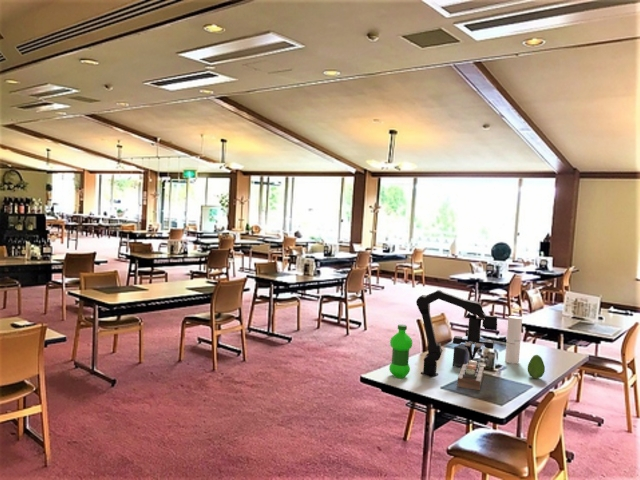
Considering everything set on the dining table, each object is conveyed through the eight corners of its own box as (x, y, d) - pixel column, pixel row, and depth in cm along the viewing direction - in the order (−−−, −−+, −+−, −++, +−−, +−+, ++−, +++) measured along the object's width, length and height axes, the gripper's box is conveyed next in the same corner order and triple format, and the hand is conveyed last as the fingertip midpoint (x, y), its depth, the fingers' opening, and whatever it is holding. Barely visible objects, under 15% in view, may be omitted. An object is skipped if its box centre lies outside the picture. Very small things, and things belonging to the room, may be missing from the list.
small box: (463, 369, 270) (465, 349, 270) (452, 366, 274) (453, 346, 274) (471, 365, 279) (472, 345, 278) (459, 362, 283) (461, 343, 282)
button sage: (474, 375, 242) (474, 372, 242) (465, 374, 243) (465, 370, 243) (474, 373, 245) (475, 369, 245) (466, 372, 247) (466, 368, 247)
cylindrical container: (520, 364, 286) (524, 319, 284) (507, 363, 286) (511, 318, 284) (516, 360, 293) (519, 316, 291) (503, 359, 293) (506, 315, 292)
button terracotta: (475, 371, 249) (475, 367, 249) (466, 369, 251) (467, 366, 250) (476, 369, 253) (476, 365, 253) (467, 367, 254) (467, 364, 254)
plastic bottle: (395, 371, 259) (398, 322, 258) (413, 376, 253) (417, 326, 251) (384, 375, 252) (387, 324, 250) (403, 381, 245) (406, 329, 244)
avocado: (533, 381, 256) (535, 357, 256) (523, 376, 264) (525, 352, 263) (547, 380, 258) (549, 356, 258) (537, 375, 266) (538, 352, 265)
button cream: (476, 366, 257) (477, 363, 256) (468, 365, 258) (468, 362, 258) (477, 364, 260) (477, 361, 260) (469, 363, 262) (469, 360, 262)
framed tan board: (479, 390, 238) (480, 378, 238) (457, 386, 242) (457, 374, 241) (483, 374, 262) (484, 363, 262) (462, 371, 266) (463, 360, 266)
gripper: (495, 327, 255) (493, 358, 256) (456, 322, 261) (454, 353, 262) (494, 331, 244) (491, 364, 245) (453, 326, 251) (451, 358, 252)
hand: (472, 359), depth 251 cm, fingers closed
